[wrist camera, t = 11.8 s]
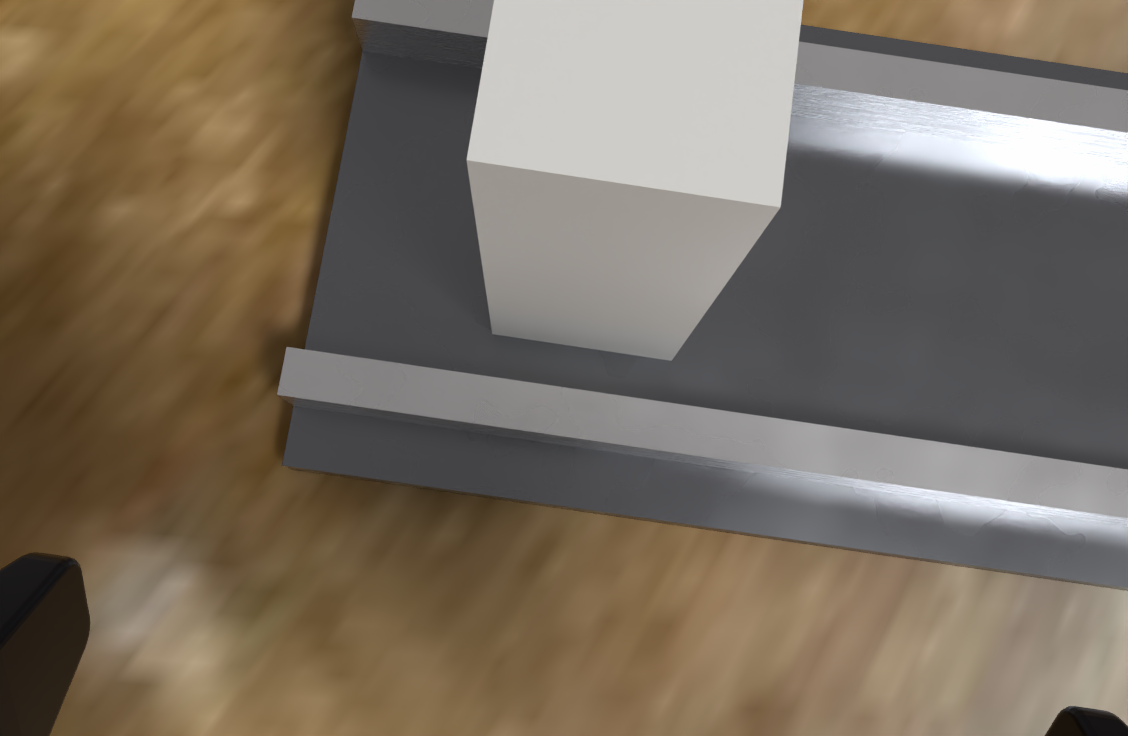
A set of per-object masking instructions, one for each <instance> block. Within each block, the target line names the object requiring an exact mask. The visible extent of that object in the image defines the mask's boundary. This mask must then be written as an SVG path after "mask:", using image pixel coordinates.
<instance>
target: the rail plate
mask: <svg viewBox="0 0 1128 736" xmlns="http://www.w3.org/2000/svg"><path fill="white" fill-rule="evenodd" d="M493 4H494V0H355V3H354V8H353V13H352V20H353V23H354V26H355V29H356V33H357V36H358V39H359V42H360V45H361V48H362V56H361V61H360V66H359V71H358V76H357V82H356V87H355V92H354V97H353V102H352V107H351V113H350V118H349V123H348V128H347V133H346V138H345V143H344V149H343V154H342V159H341V164H340V169H339V174H338V180H337V185H336V190H335V195H334V200H333V205H332V210H331V216H330V221H329V226H328V231H327V236H326V241H325V247H324V252H323V257H322V262H321V267H320V272H319V277H318V283H317V288H316V293H315V298H314V303H313V308H312V314H311V319H310V324H309V329H308V334H307V339H306V344H305V349H298V348H291V347H286V352H285V358H284V363H283V368H282V373H281V378H280V383H279V388H278V393H277V395H278V396H280V397H281V398H283V399H284V400H286V401H287V402H289V403H290V404H292V405H293V411H292V417H291V422H290V427H289V432H288V437H287V442H286V448H285V453H284V458H283V463H282V466H285V467H287V468H290V469H292V470H299V471H306V472H312V473H319V474H326V475H333V476H340V477H347V478H354V479H361V480H368V481H375V482H381V483H388V484H395V485H402V486H409V487H416V488H423V489H430V490H437V491H444V492H451V493H457V494H464V495H471V496H478V497H485V498H492V499H499V500H506V501H513V502H520V503H526V504H533V505H540V506H547V507H554V508H561V509H568V510H575V511H582V512H589V513H595V514H602V515H609V516H616V517H623V518H630V519H637V520H644V521H651V522H658V523H664V524H671V525H678V526H685V527H692V528H699V529H706V530H713V531H720V532H727V533H733V534H740V535H747V536H754V537H761V538H768V539H775V540H782V541H789V542H796V543H803V544H809V545H816V546H823V547H830V548H837V549H844V550H851V551H858V552H865V553H872V554H878V555H885V556H892V557H899V558H906V559H913V560H920V561H927V562H934V563H941V564H947V565H954V566H961V567H968V568H975V569H982V570H989V571H996V572H1003V573H1010V574H1016V575H1023V576H1030V577H1037V578H1044V579H1051V580H1058V581H1065V582H1072V583H1079V584H1085V585H1092V586H1099V587H1106V588H1113V589H1120V590H1127V591H1128V73H1121V72H1114V71H1107V70H1101V69H1094V68H1087V67H1081V66H1074V65H1067V64H1060V63H1054V62H1047V61H1040V60H1034V59H1027V58H1020V57H1014V56H1007V55H1000V54H993V53H987V52H980V51H973V50H967V49H960V48H953V47H946V46H940V45H933V44H926V43H920V42H913V41H906V40H900V39H893V38H886V37H879V36H873V35H866V34H859V33H853V32H846V31H839V30H832V29H826V28H819V27H812V26H806V25H801V26H800V36H799V45H798V54H797V63H796V72H795V81H794V90H793V99H792V108H791V117H790V126H789V136H788V145H787V154H786V163H785V172H784V181H783V190H782V199H781V207H780V209H779V210H778V212H777V213H776V215H775V216H774V217H773V219H772V220H771V222H770V223H769V224H768V226H767V227H766V229H765V230H764V231H763V233H762V234H761V236H760V237H759V238H758V240H757V241H756V243H755V244H754V245H753V247H752V248H751V250H750V251H749V252H748V254H747V255H746V257H745V258H744V260H743V261H742V262H741V264H740V265H739V267H738V268H737V269H736V271H735V272H734V274H733V275H732V276H731V278H730V279H729V281H728V282H727V283H726V285H725V286H724V288H723V289H722V290H721V292H720V293H719V295H718V296H717V297H716V299H715V300H714V302H713V303H712V305H711V306H710V307H709V309H708V310H707V312H706V313H705V314H704V316H703V317H702V319H701V320H700V321H699V323H698V324H697V326H696V327H695V328H694V330H693V331H692V333H691V334H690V335H689V337H688V338H687V340H686V341H685V342H684V344H683V345H682V347H681V348H680V349H679V351H678V352H677V354H676V355H675V357H674V358H673V359H672V361H670V360H663V359H656V358H649V357H643V356H636V355H629V354H623V353H616V352H609V351H603V350H596V349H589V348H583V347H576V346H569V345H562V344H556V343H549V342H542V341H536V340H529V339H522V338H516V337H509V336H502V335H495V334H492V328H491V322H490V315H489V308H488V301H487V295H486V288H485V281H484V275H483V268H482V261H481V254H480V248H479V241H478V234H477V227H476V221H475V214H474V207H473V200H472V194H471V187H470V180H469V174H468V167H467V154H468V148H469V143H470V137H471V131H472V125H473V120H474V114H475V108H476V102H477V96H478V91H479V85H480V79H481V73H482V67H483V62H484V56H485V50H486V44H487V39H488V33H489V27H490V21H491V15H492V10H493Z"/></svg>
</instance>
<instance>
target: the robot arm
mask: <svg viewBox="0 0 1128 736" xmlns="http://www.w3.org/2000/svg"><path fill="white" fill-rule="evenodd" d="M89 631H90V616H89V610H88V605H87V599H86V594H85V588H84V582H83V577H82V571H81V568H80V565H79V564H78V562H77V561H76V560H75V559H73V558H71V557H66V556H59V555H52V554H45V553H37V552H34V553H29V554H26V555H24V556H22V557H20V558H18V559H16V560H15V561H13V562H12V563H10V564H9V565H7V566H5V567H4V568H2V569H1V570H0V736H50V733H51V731H52V728H53V726H54V723H55V721H56V719H57V716H58V714H59V711H60V709H61V706H62V704H63V701H64V699H65V696H66V694H67V691H68V689H69V686H70V684H71V682H72V679H73V677H74V674H75V672H76V669H77V667H78V664H79V662H80V659H81V657H82V654H83V652H84V649H85V647H86V644H87V640H88V637H89ZM1045 736H1128V726H1127V725H1126V724H1125V723H1124V722H1123V721H1122V720H1121V719H1120V718H1119V717H1117V716H1116V715H1114V714H1113V713H1110V712H1108V711H1103V710H1097V709H1090V708H1083V707H1076V706H1069V707H1067V708H1065V709H1063V710H1061V711H1060V713H1059V714H1058V715H1057V717H1056V719H1055V720H1054V722H1053V723H1052V725H1051V727H1050V728H1049V730H1048V731H1047V733H1046V734H1045Z"/></svg>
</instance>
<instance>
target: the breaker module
mask: <svg viewBox="0 0 1128 736" xmlns="http://www.w3.org/2000/svg"><path fill="white" fill-rule="evenodd" d="M802 8H803V0H494V4H493V10H492V15H491V21H490V27H489V33H488V39H487V44H486V50H485V56H484V62H483V67H482V73H481V79H480V85H479V91H478V96H477V102H476V108H475V114H474V120H473V125H472V131H471V137H470V143H469V148H468V154H467V167H468V174H469V180H470V187H471V194H472V200H473V207H474V214H475V221H476V227H477V234H478V241H479V248H480V254H481V261H482V268H483V275H484V281H485V288H486V295H487V301H488V308H489V315H490V322H491V328H492V334H495V335H502V336H509V337H516V338H522V339H529V340H536V341H542V342H549V343H556V344H562V345H569V346H576V347H583V348H589V349H596V350H603V351H609V352H616V353H623V354H629V355H636V356H643V357H649V358H656V359H663V360H670V361H672V359H673V358H674V357H675V355H676V354H677V352H678V351H679V349H680V348H681V347H682V345H683V344H684V342H685V341H686V340H687V338H688V337H689V335H690V334H691V333H692V331H693V330H694V328H695V327H696V326H697V324H698V323H699V321H700V320H701V319H702V317H703V316H704V314H705V313H706V312H707V310H708V309H709V307H710V306H711V305H712V303H713V302H714V300H715V299H716V297H717V296H718V295H719V293H720V292H721V290H722V289H723V288H724V286H725V285H726V283H727V282H728V281H729V279H730V278H731V276H732V275H733V274H734V272H735V271H736V269H737V268H738V267H739V265H740V264H741V262H742V261H743V260H744V258H745V257H746V255H747V254H748V252H749V251H750V250H751V248H752V247H753V245H754V244H755V243H756V241H757V240H758V238H759V237H760V236H761V234H762V233H763V231H764V230H765V229H766V227H767V226H768V224H769V223H770V222H771V220H772V219H773V217H774V216H775V215H776V213H777V212H778V210H779V209H780V207H781V199H782V190H783V181H784V172H785V163H786V154H787V145H788V136H789V126H790V117H791V108H792V99H793V90H794V81H795V72H796V63H797V54H798V45H799V36H800V26H801V17H802Z"/></svg>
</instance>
